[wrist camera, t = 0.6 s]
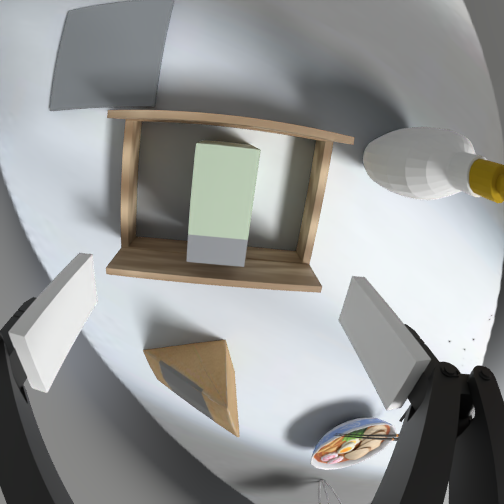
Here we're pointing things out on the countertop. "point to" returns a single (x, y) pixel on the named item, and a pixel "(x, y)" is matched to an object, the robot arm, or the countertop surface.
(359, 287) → the robot arm
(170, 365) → the sandwich container
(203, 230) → the capped box
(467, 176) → the soap bottle
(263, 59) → the countertop surface
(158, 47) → the slate mat
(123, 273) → the wooden display shelf
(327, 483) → the flower bouquet
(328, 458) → the ramen bowl
